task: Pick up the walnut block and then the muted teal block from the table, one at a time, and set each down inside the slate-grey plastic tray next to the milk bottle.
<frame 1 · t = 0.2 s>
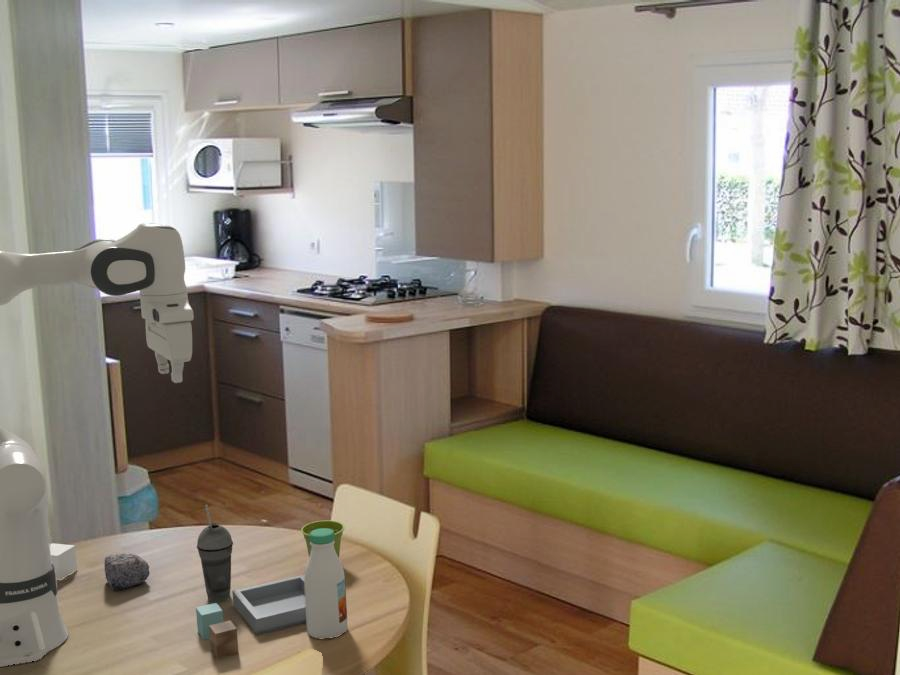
hand: (170, 377, 212), 47 cm above the table, tool pointing down, fingers open, 8 cm apart
pumice stone: (127, 586, 232), on the table
white cube: (57, 575, 238), on the table
walnut block: (224, 652, 200), on the table
teal block: (211, 633, 208), on the table
beverage cup: (219, 598, 224), on the table
tray: (281, 610, 217), on the table
plant pot: (325, 566, 239), on the table
milk bottle: (327, 632, 207), on the table
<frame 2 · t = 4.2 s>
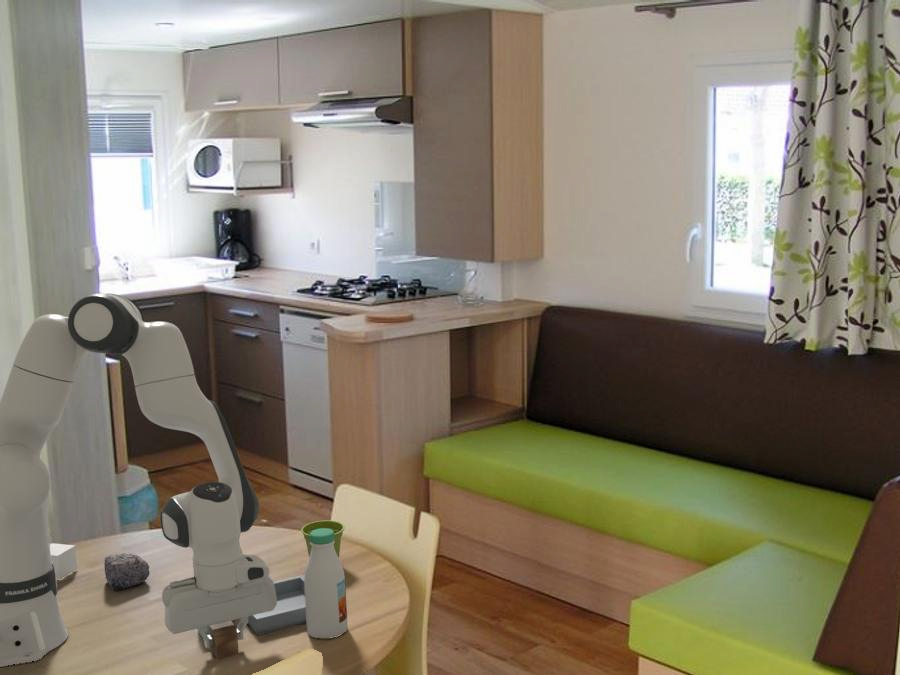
hand: (224, 642, 200), 2 cm above the table, tool pointing down, fingers closed on walnut block, 4 cm apart
walnut block: (224, 652, 200), on the table, touching gripper
everything else where it was.
when the fingers open (5 cm above the table, at t = 8.7 s): walnut block drops 2 cm, resting on tray.
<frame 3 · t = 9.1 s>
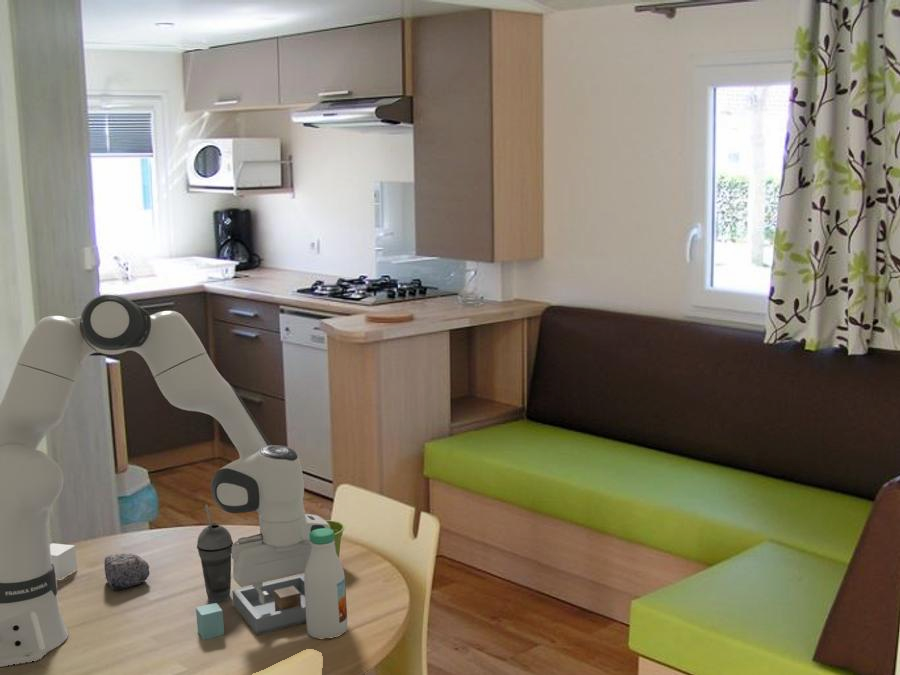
hand: (287, 596, 212), 5 cm above the table, tool pointing down, fingers open, 8 cm apart
walnut block: (288, 615, 213), point 1 cm above the table, touching tray
everything else where it was.
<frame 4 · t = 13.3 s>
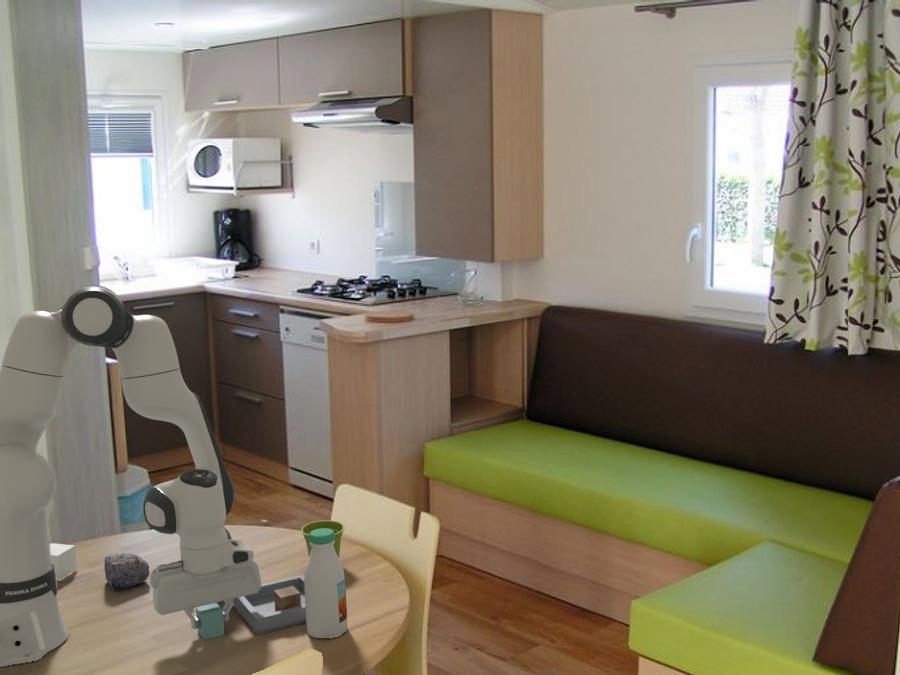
hand: (210, 624, 208), 2 cm above the table, tool pointing down, fingers closed on teal block, 4 cm apart
teal block: (211, 633, 208), on the table, touching gripper
everything else where it was.
when the fingers open (5 cm above the table, at t = 17.7 s): teal block drops 2 cm, resting on tray.
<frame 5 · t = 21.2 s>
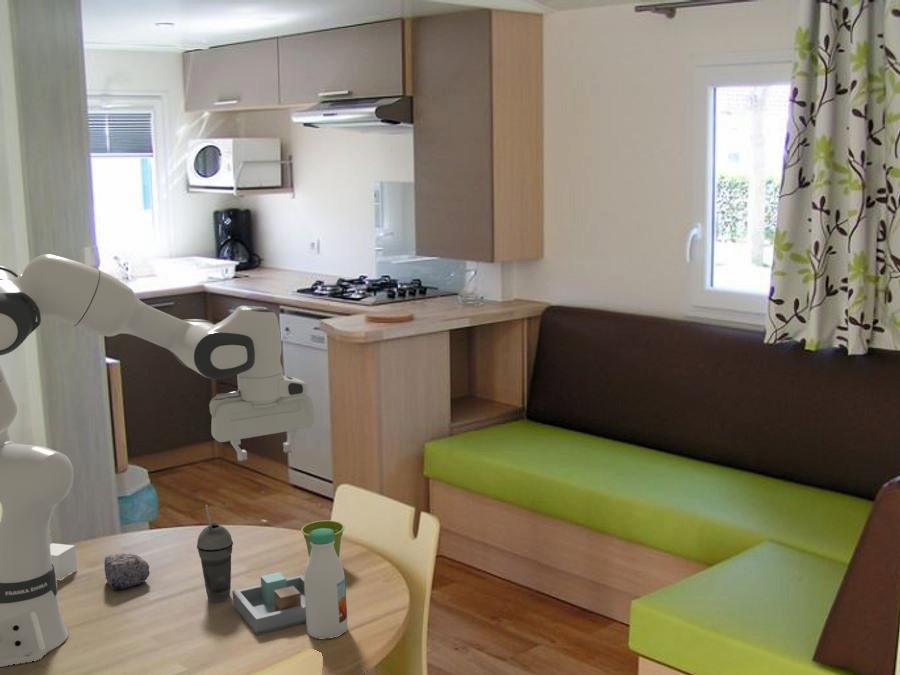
hand: (265, 455, 214), 31 cm above the table, tool pointing down, fingers open, 8 cm apart
teal block: (274, 600, 220), point 1 cm above the table, touching tray
everything else where it was.
at the end: walnut block inside the target area on the tray (4.0 cm from its centre), point 0.6 cm above the tray's base; teal block inside the target area on the tray (4.0 cm from its centre), point 0.6 cm above the tray's base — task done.
